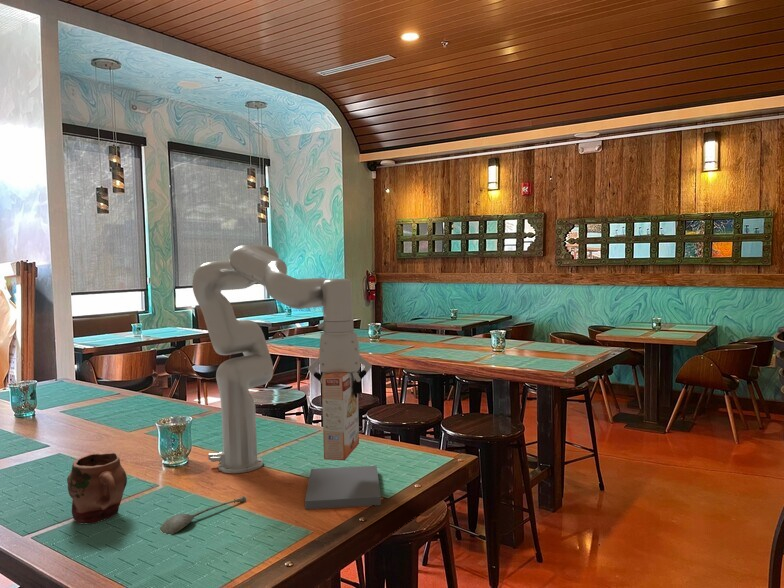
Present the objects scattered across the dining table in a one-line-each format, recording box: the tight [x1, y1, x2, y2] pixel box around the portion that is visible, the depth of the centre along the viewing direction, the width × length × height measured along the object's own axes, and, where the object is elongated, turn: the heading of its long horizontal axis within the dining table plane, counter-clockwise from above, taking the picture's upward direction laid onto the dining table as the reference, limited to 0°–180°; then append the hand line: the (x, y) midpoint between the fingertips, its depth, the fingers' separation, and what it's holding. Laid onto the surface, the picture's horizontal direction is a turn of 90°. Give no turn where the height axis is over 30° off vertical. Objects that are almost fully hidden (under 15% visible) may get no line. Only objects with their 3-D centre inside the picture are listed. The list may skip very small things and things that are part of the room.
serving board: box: [304, 465, 382, 510], centre depth 151 cm, size 18×22×2 cm
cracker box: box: [321, 373, 360, 461], centre depth 150 cm, size 14×6×21 cm, turn 169°
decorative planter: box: [66, 452, 128, 524], centre depth 137 cm, size 20×12×14 cm, turn 51°
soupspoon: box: [159, 495, 247, 535], centre depth 137 cm, size 22×3×7 cm
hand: (341, 396), depth 150 cm, fingers closed on cracker box, 7 cm apart
